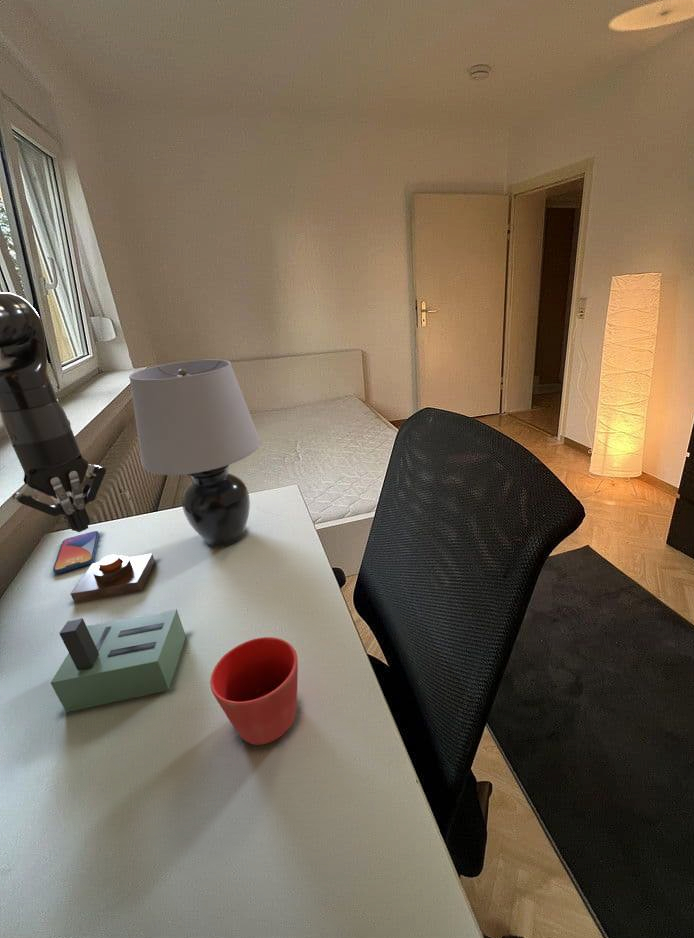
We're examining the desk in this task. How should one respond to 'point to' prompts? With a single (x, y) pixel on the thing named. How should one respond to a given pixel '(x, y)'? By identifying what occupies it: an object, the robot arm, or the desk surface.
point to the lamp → (197, 440)
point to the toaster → (124, 661)
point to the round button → (109, 563)
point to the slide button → (79, 644)
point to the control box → (114, 578)
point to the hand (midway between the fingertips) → (81, 529)
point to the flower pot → (258, 688)
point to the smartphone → (76, 552)
